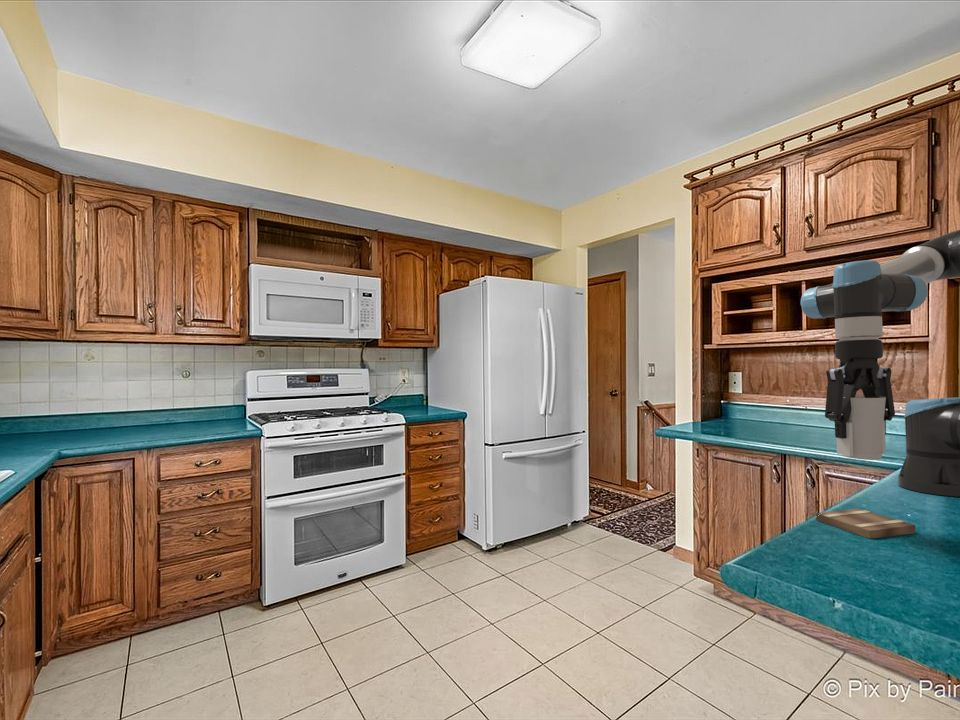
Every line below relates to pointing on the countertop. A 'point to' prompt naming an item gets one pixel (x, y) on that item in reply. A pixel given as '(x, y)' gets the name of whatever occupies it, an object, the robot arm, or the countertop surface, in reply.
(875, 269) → the robot arm
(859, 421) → the cup
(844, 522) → the striped wooden coaster
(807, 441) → the countertop surface
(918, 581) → the countertop surface
